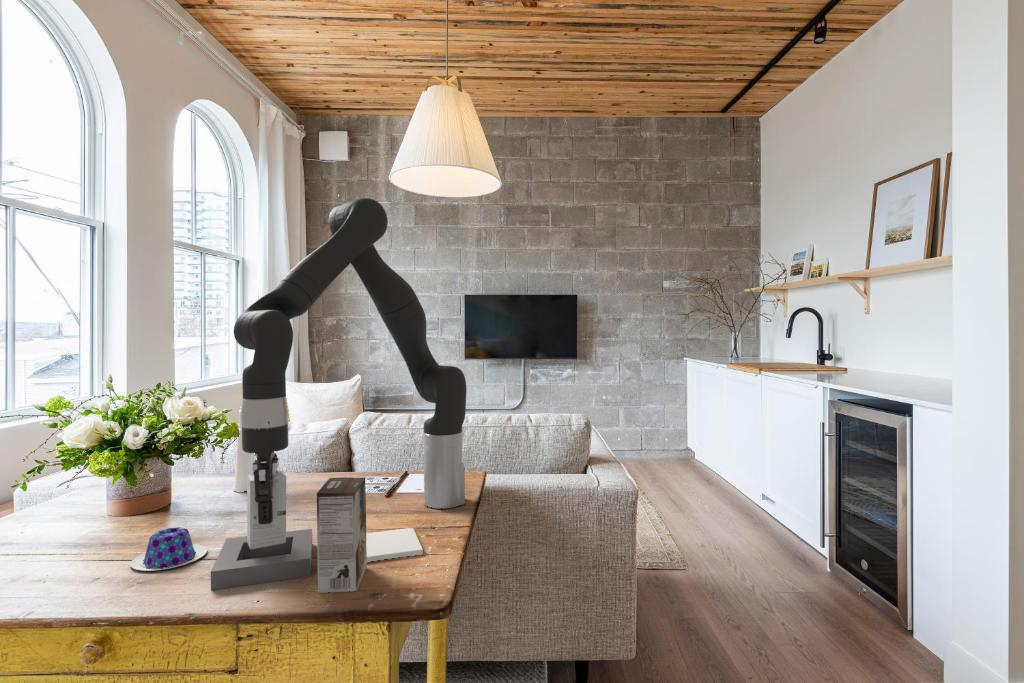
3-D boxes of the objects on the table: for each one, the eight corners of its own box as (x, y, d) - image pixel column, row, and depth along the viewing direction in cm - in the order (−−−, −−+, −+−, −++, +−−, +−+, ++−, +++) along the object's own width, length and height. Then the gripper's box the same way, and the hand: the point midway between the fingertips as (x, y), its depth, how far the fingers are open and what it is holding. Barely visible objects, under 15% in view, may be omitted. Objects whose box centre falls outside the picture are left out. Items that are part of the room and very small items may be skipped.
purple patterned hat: (171, 545, 107) (170, 518, 107) (222, 550, 104) (221, 523, 104) (112, 571, 96) (112, 541, 96) (168, 578, 93) (168, 547, 93)
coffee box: (330, 569, 95) (329, 477, 95) (367, 567, 96) (366, 476, 95) (315, 594, 86) (314, 492, 86) (357, 592, 87) (356, 491, 86)
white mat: (412, 532, 112) (412, 527, 112) (422, 554, 101) (422, 549, 101) (352, 540, 109) (352, 535, 109) (355, 563, 97) (355, 558, 97)
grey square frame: (312, 544, 107) (312, 528, 107) (310, 576, 92) (310, 558, 92) (226, 554, 102) (226, 538, 102) (210, 590, 88) (210, 571, 87)
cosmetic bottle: (262, 488, 146) (261, 405, 145) (241, 493, 141) (240, 408, 140) (249, 484, 149) (248, 404, 149) (228, 490, 144) (226, 407, 144)
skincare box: (249, 550, 94) (248, 481, 93) (246, 542, 97) (245, 474, 97) (288, 542, 97) (286, 475, 97) (283, 534, 101) (282, 469, 100)
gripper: (285, 428, 91) (287, 529, 92) (290, 415, 105) (292, 503, 105) (235, 431, 89) (237, 535, 89) (247, 418, 102) (249, 508, 103)
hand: (267, 517), depth 97 cm, fingers closed on skincare box, 5 cm apart
